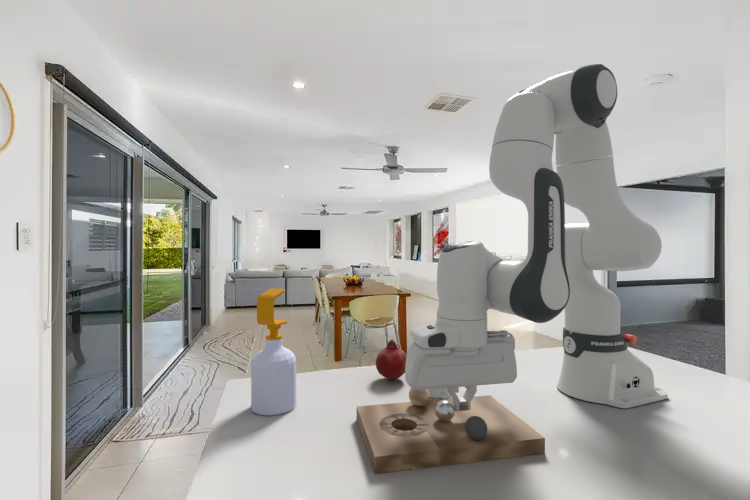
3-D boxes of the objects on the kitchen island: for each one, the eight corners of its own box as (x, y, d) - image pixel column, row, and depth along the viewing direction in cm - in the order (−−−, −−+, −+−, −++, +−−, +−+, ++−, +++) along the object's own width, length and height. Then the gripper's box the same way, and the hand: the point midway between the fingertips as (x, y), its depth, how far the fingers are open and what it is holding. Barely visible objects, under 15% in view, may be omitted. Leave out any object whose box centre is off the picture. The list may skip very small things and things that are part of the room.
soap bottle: (304, 402, 81) (304, 288, 81) (276, 420, 73) (276, 292, 73) (271, 395, 85) (271, 286, 85) (241, 411, 77) (241, 290, 77)
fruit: (413, 377, 97) (413, 338, 97) (398, 387, 90) (398, 345, 90) (386, 372, 101) (386, 334, 101) (369, 381, 94) (369, 341, 94)
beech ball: (425, 400, 76) (425, 380, 76) (432, 409, 72) (432, 388, 72) (406, 402, 75) (406, 382, 75) (412, 410, 71) (412, 389, 71)
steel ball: (445, 393, 69) (428, 403, 69) (453, 401, 66) (436, 411, 65) (453, 409, 70) (436, 419, 69) (461, 418, 66) (444, 429, 66)
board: (489, 407, 79) (489, 395, 79) (544, 453, 61) (544, 437, 61) (356, 419, 73) (356, 406, 73) (374, 473, 56) (374, 456, 56)
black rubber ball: (481, 432, 63) (481, 411, 63) (491, 443, 60) (491, 420, 60) (461, 434, 62) (461, 413, 62) (470, 445, 59) (470, 422, 59)
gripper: (505, 326, 73) (505, 398, 73) (402, 330, 69) (402, 407, 69) (524, 333, 67) (524, 412, 67) (412, 339, 63) (412, 422, 63)
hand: (461, 409), depth 68 cm, fingers closed
